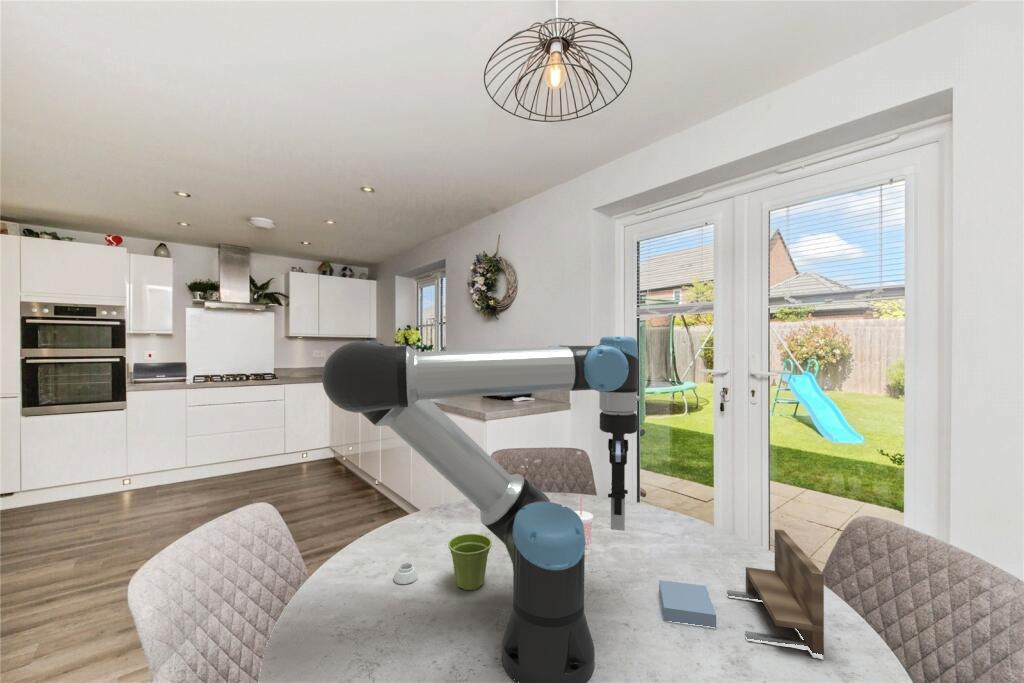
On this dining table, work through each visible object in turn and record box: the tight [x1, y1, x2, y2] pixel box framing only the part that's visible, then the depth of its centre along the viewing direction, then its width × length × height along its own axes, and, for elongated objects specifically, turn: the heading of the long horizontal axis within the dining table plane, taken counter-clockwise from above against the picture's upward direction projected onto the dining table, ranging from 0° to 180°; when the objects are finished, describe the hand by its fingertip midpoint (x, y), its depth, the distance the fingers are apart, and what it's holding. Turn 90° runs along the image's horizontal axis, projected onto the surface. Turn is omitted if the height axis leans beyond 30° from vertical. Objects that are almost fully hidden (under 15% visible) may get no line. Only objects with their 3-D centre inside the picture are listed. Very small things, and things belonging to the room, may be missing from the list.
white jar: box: [393, 562, 418, 585], centre depth 95 cm, size 5×3×5 cm
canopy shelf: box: [726, 528, 825, 656], centre depth 81 cm, size 18×11×14 cm, turn 166°
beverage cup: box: [573, 494, 594, 556], centre depth 108 cm, size 6×6×14 cm
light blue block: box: [658, 579, 717, 629], centre depth 84 cm, size 10×9×3 cm
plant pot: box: [447, 533, 493, 591], centre depth 93 cm, size 9×9×9 cm
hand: (617, 527), depth 88 cm, fingers closed
